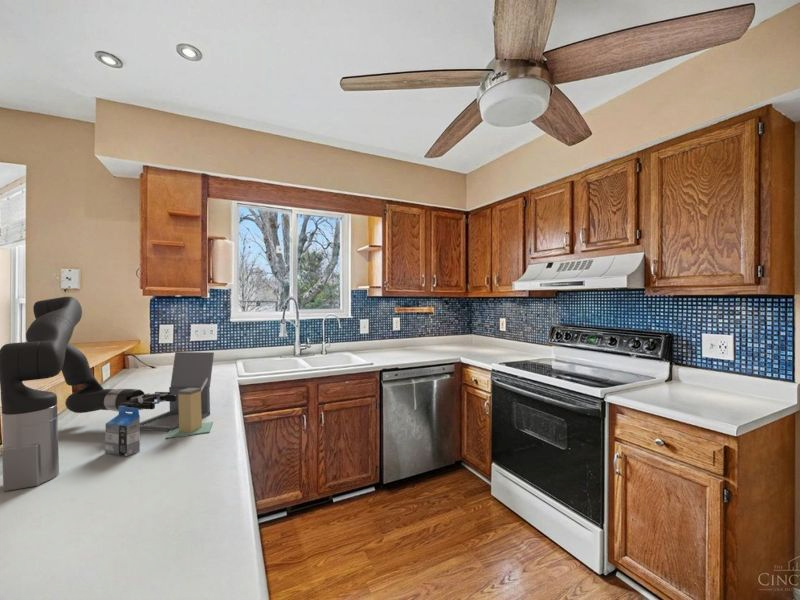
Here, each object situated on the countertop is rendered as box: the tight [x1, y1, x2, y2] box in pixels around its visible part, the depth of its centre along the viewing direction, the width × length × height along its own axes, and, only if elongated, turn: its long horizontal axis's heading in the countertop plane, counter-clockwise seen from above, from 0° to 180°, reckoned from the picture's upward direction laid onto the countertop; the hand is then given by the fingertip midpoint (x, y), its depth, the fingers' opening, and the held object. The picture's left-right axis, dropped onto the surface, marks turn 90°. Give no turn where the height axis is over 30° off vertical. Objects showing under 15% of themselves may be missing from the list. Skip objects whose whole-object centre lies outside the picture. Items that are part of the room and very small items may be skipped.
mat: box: [165, 421, 214, 439], centre depth 116 cm, size 10×12×1 cm
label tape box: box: [104, 406, 141, 457], centre depth 100 cm, size 9×4×12 cm, turn 72°
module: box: [178, 388, 203, 432], centre depth 116 cm, size 5×5×13 cm
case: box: [140, 351, 215, 431], centre depth 127 cm, size 20×16×23 cm
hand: (165, 401), depth 118 cm, fingers open, 8 cm apart
